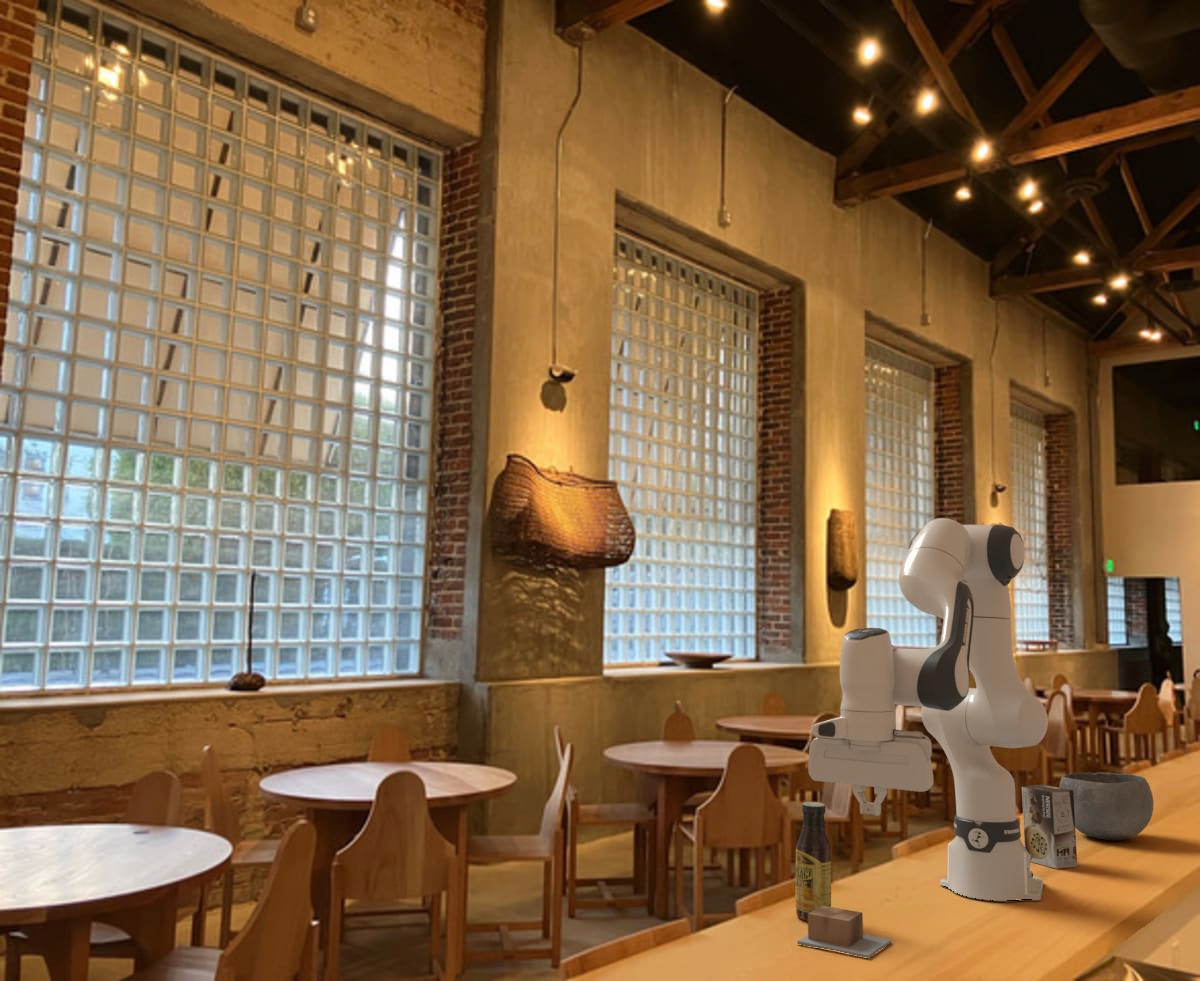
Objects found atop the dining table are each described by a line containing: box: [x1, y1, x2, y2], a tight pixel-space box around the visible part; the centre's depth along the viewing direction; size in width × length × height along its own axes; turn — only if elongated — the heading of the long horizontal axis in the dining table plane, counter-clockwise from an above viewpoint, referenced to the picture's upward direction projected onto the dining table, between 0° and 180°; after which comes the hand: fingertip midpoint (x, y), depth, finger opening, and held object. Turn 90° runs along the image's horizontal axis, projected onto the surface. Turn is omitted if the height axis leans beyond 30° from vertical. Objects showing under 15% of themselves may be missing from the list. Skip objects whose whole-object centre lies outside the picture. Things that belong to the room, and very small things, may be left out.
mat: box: [797, 933, 892, 958], centre depth 169 cm, size 10×12×1 cm
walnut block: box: [807, 906, 864, 947], centre depth 170 cm, size 6×4×7 cm
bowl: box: [1058, 771, 1154, 841], centre depth 252 cm, size 20×20×15 cm
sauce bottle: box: [794, 801, 832, 922], centre depth 184 cm, size 7×6×20 cm
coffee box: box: [1021, 784, 1078, 870], centre depth 226 cm, size 9×6×16 cm
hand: (870, 814), depth 168 cm, fingers closed
